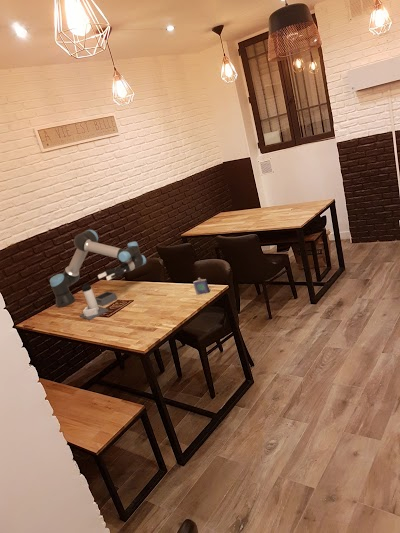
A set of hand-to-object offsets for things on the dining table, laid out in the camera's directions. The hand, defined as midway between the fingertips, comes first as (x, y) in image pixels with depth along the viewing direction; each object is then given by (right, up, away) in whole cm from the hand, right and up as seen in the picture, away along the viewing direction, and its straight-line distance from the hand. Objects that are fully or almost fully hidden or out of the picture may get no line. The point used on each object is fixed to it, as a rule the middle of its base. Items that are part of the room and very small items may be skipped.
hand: (102, 277), depth 290 cm
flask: (+72, -9, -25) cm, 77 cm away
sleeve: (0, -18, +12) cm, 22 cm away
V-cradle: (-4, -25, -6) cm, 26 cm away
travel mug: (-4, -23, -5) cm, 24 cm away
